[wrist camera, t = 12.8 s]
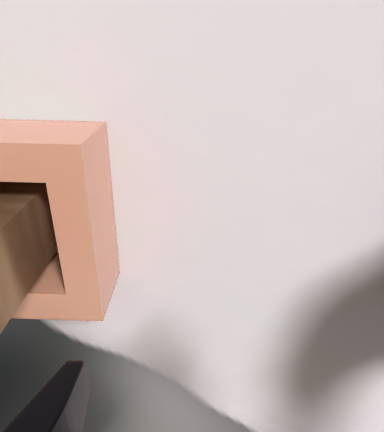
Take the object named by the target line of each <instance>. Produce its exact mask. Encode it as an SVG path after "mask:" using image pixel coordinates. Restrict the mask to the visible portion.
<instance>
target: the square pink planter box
mask: <svg viewBox="0 0 384 432" xmlns="http://www.w3.org/2000/svg"><path fill="white" fill-rule="evenodd" d="M0 182H32V183H46V187H47V193H48V198H49V203H50V209H51V214H52V220H53V225H54V231H55V236H56V242H57V247H58V250H57V251H56V253H55V254H54V256H53V257H52V258H51V260H50V261H49V263H48V264H47V266H46V267H45V269H44V270H43V272H42V273H41V275H40V276H39V278H38V279H37V281H36V282H35V284H34V285H33V287H32V288H31V289H30V291H29V292H28V294H27V295H26V297H25V298H24V300H23V301H22V303H21V304H20V306H19V307H18V309H17V310H16V312H15V313H14V315H13V316H12V317H11V318H22V319H53V320H85V321H103V319H104V316H105V314H106V311H107V308H108V305H109V302H110V299H111V296H112V293H113V290H114V288H115V285H116V282H117V279H118V276H119V273H120V271H119V260H118V249H117V238H116V227H115V216H114V205H113V194H112V183H111V172H110V161H109V150H108V139H107V128H106V122H83V121H43V120H4V119H0Z"/></svg>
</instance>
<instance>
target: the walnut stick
mask: <svg viewBox="0 0 384 432" xmlns="http://www.w3.org/2000/svg"><path fill="white" fill-rule="evenodd" d="M57 250H58V247H57V242H56V236H55V231H54V225H53V220H52V214H51V209H50V203H49V198H48V193H47V187H46V183H32V182H0V334H1V332H2V331H3V329H4V328H5V326H6V325H7V323H8V322H9V320H10V319H11V317H12V316H13V315H14V313H15V312H16V310H17V309H18V307H19V306H20V304H21V303H22V301H23V300H24V298H25V297H26V295H27V294H28V292H29V291H30V289H31V288H32V287H33V285H34V284H35V282H36V281H37V279H38V278H39V276H40V275H41V273H42V272H43V270H44V269H45V267H46V266H47V264H48V263H49V261H50V260H51V258H52V257H53V256H54V254H55V253H56V251H57Z"/></svg>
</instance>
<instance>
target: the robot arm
mask: <svg viewBox="0 0 384 432" xmlns="http://www.w3.org/2000/svg"><path fill="white" fill-rule="evenodd" d="M90 387H91V384H90V378H89V373H88V369H87V364H86V362H85V361H84V360H70V361H68V362H66V363H65V364H64V365H63V367H61V369H60V370H59V371H58V372H57V373H56V374H55V375H54V377H52V378H51V379H50V381H49V382H48V383H47V384H46V385H45V386H44V387H43V388H42V389H41V391H40V392H39V393H38V394H37V395H36V396H35V397H34V398H33V399H32V400H31V402H30V403H29V404H28V405H27V406H26V407H25V408H24V409H23V410H22V411H21V412H20V413H19V414H18V416H17V417H16V418H15V419H14V420H13V421H12V422H11V423H10V424H9V426H8V427H7V428H6V429H5V430H4V431H3V432H83V429H84V423H85V418H86V412H87V406H88V401H89V395H90Z"/></svg>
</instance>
